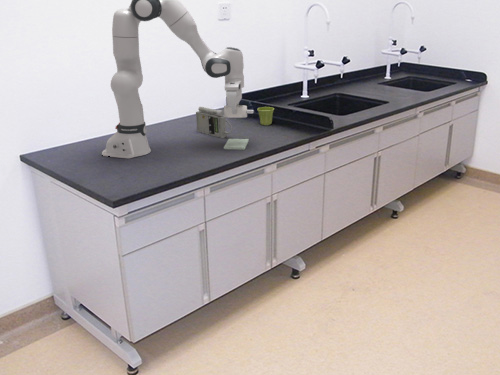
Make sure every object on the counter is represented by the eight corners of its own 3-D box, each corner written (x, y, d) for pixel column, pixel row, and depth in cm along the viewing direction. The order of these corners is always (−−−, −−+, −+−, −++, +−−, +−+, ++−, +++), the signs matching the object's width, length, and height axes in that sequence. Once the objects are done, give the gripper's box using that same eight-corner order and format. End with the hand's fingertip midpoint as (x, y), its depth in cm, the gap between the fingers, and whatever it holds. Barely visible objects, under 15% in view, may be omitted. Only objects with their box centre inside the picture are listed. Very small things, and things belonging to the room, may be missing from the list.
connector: (223, 117, 235) (223, 107, 233) (225, 115, 239) (224, 105, 237) (252, 117, 233) (252, 107, 232) (253, 115, 237) (253, 105, 235)
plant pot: (259, 126, 272) (259, 111, 269) (255, 122, 280) (255, 107, 277) (276, 125, 274) (276, 110, 271) (271, 121, 282) (271, 106, 279)
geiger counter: (193, 106, 260) (226, 113, 244) (202, 104, 264) (235, 110, 248) (195, 132, 265) (228, 140, 249) (204, 129, 269) (236, 137, 254)
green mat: (223, 149, 236) (223, 147, 236) (229, 140, 249) (229, 138, 249) (244, 149, 235) (244, 147, 234) (248, 141, 248) (248, 139, 247)
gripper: (231, 79, 240) (232, 107, 246) (223, 87, 222) (225, 117, 227) (244, 79, 240) (245, 107, 245) (237, 87, 221) (238, 118, 226)
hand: (235, 112), depth 236 cm, fingers closed on connector, 4 cm apart
